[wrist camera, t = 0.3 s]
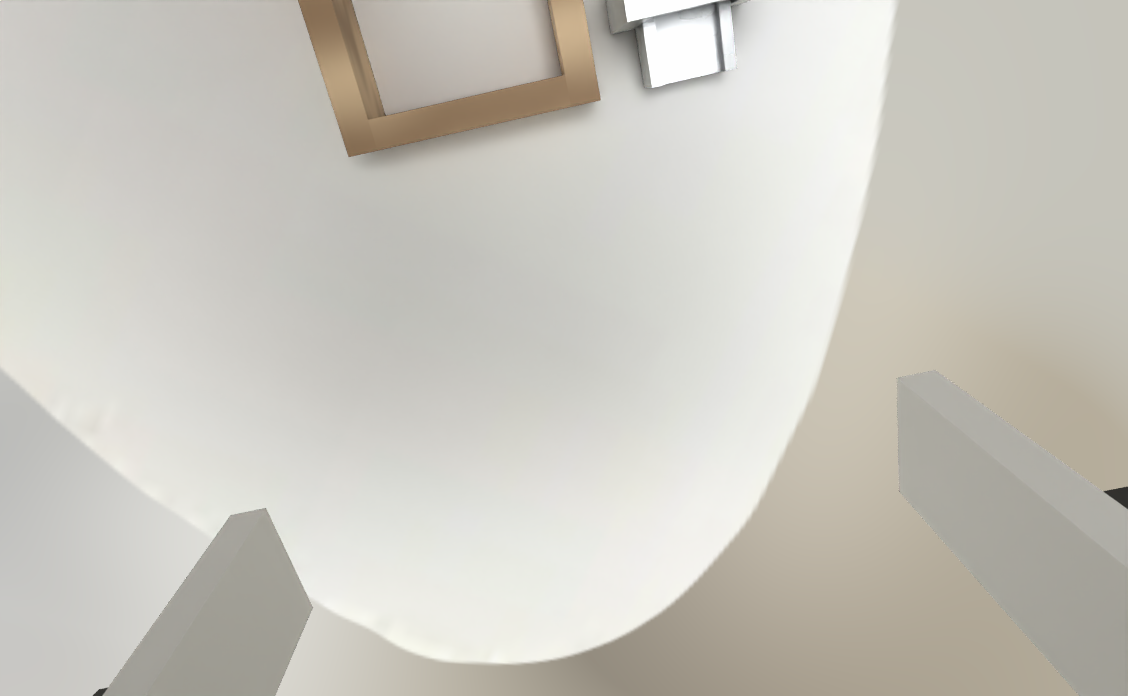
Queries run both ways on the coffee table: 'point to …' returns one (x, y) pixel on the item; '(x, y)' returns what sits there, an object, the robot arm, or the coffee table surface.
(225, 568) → the robot arm
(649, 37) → the rail
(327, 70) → the cradle
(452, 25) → the coffee table surface
